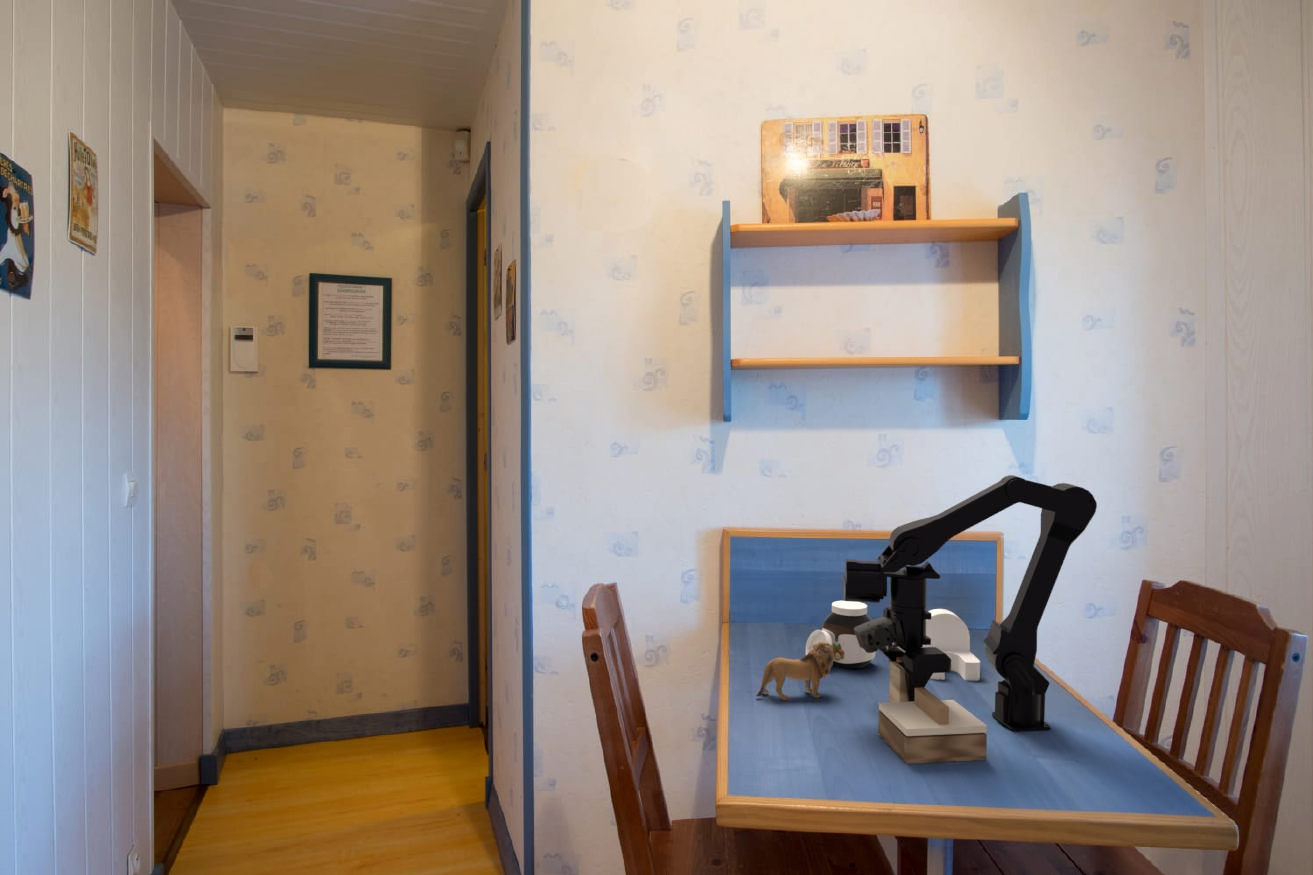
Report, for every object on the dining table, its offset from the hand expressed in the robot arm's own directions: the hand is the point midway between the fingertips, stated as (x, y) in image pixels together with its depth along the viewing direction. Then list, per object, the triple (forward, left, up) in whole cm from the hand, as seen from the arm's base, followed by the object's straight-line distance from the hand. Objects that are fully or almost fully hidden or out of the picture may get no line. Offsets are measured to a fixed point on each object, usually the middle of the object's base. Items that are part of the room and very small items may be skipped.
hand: (906, 698), depth 130 cm
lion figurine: (+15, -11, -3) cm, 19 cm away
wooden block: (0, 0, -2) cm, 2 cm away
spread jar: (+2, -26, -3) cm, 26 cm away
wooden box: (+2, +12, -3) cm, 12 cm away
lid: (+2, +12, +1) cm, 12 cm away
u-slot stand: (-18, -24, -3) cm, 30 cm away
